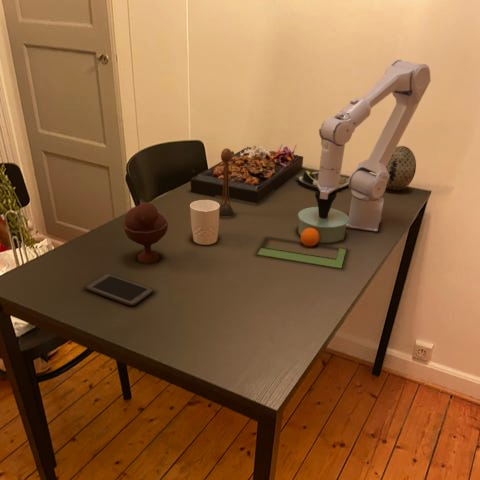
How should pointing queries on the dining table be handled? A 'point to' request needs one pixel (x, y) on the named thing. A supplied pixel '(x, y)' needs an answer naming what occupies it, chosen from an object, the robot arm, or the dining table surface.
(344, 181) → the salad plate
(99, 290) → the cell phone
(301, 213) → the lid
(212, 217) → the white cup
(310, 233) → the orange
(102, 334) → the dining table surface
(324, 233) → the pot
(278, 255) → the green flat l-shaped piece
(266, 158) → the food platter
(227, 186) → the wooden tabletop sculpture
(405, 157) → the decorative egg
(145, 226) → the ice cream bowl
